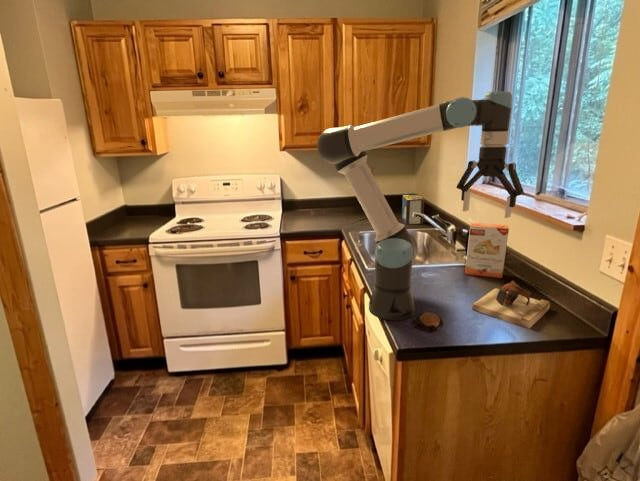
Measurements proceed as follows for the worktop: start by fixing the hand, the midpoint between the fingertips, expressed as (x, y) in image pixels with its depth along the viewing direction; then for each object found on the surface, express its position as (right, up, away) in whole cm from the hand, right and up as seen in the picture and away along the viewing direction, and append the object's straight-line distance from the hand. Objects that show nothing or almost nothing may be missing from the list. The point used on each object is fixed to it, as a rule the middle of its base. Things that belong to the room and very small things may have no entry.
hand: (485, 213), depth 125 cm
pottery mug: (+10, -30, +4) cm, 32 cm away
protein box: (+5, +3, +121) cm, 121 cm away
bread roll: (-20, -35, -3) cm, 40 cm away
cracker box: (+14, -23, +35) cm, 44 cm away
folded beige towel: (+10, -31, +5) cm, 33 cm away
